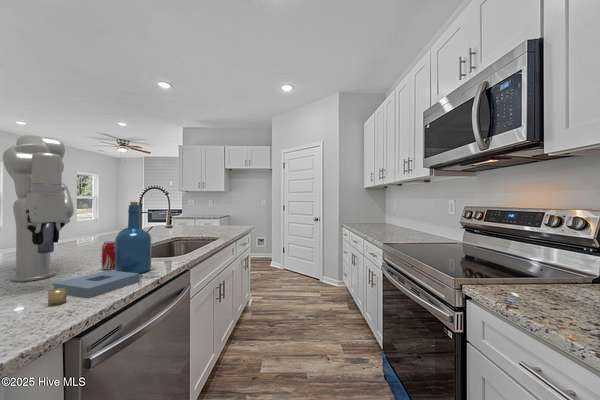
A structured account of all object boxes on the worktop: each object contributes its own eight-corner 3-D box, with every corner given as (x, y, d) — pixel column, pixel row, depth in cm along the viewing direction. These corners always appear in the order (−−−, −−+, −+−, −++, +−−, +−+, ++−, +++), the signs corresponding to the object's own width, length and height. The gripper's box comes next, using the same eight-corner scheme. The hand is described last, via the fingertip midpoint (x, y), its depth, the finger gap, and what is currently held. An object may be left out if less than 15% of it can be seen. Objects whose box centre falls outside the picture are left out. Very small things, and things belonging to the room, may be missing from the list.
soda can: (110, 271, 115) (111, 243, 115) (97, 270, 116) (97, 242, 116) (124, 267, 122) (124, 240, 122) (111, 266, 123) (112, 240, 123)
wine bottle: (158, 269, 118) (158, 201, 118) (129, 277, 105) (130, 201, 105) (136, 266, 123) (136, 201, 123) (106, 274, 110) (107, 201, 110)
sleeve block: (54, 292, 88) (54, 283, 88) (108, 277, 105) (108, 270, 105) (88, 298, 83) (88, 288, 83) (139, 281, 100) (139, 273, 100)
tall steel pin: (34, 252, 90) (35, 222, 89) (49, 250, 93) (49, 222, 93) (42, 253, 88) (42, 223, 88) (56, 251, 92) (57, 222, 92)
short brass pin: (44, 305, 77) (44, 291, 77) (60, 300, 81) (60, 287, 81) (53, 307, 76) (53, 293, 76) (69, 302, 79) (69, 288, 80)
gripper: (67, 190, 100) (66, 239, 100) (6, 188, 84) (5, 246, 84) (81, 190, 97) (80, 240, 98) (21, 188, 82) (20, 248, 82)
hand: (45, 242), depth 91 cm, fingers closed on tall steel pin, 4 cm apart
